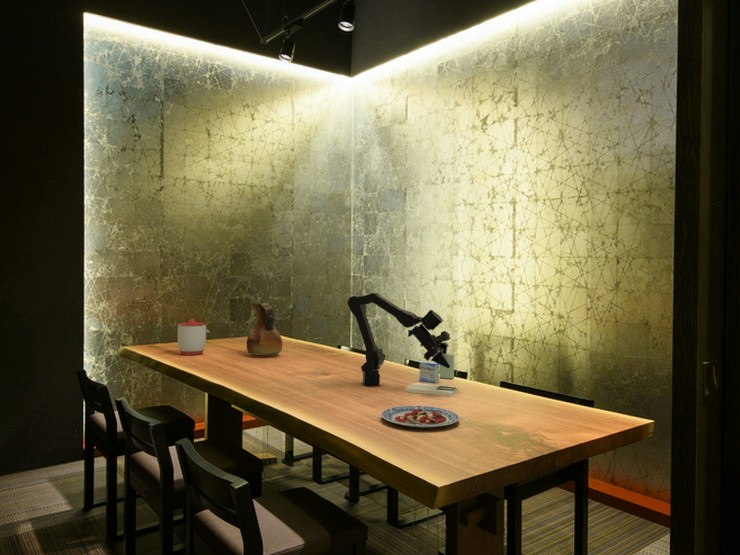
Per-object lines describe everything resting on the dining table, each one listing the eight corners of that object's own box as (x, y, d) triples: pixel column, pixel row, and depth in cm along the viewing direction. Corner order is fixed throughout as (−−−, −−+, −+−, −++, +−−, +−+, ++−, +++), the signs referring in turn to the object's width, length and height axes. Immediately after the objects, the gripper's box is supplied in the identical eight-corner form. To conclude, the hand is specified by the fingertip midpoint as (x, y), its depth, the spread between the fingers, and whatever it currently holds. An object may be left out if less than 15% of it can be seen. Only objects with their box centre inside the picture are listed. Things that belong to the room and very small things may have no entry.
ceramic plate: (411, 408, 209) (411, 399, 209) (473, 421, 193) (473, 412, 193) (364, 421, 190) (365, 412, 190) (430, 437, 173) (430, 428, 173)
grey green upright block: (439, 378, 235) (440, 354, 234) (441, 377, 238) (442, 353, 238) (451, 380, 233) (452, 355, 232) (454, 378, 236) (454, 354, 236)
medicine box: (418, 381, 258) (419, 362, 258) (422, 379, 262) (423, 360, 262) (435, 383, 254) (435, 363, 254) (439, 381, 258) (439, 362, 258)
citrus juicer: (212, 355, 321) (213, 319, 320) (180, 357, 312) (180, 320, 312) (205, 351, 334) (205, 316, 334) (174, 352, 326) (174, 317, 325)
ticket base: (405, 391, 236) (405, 386, 236) (414, 386, 247) (414, 381, 247) (451, 396, 228) (451, 391, 228) (458, 390, 240) (458, 385, 240)
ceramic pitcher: (270, 352, 336) (271, 300, 335) (289, 356, 320) (290, 302, 320) (240, 354, 323) (240, 301, 323) (257, 359, 308) (258, 303, 307)
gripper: (432, 326, 228) (459, 357, 224) (444, 323, 245) (469, 351, 241) (412, 345, 231) (438, 375, 227) (426, 340, 248) (450, 368, 244)
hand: (450, 366), depth 235 cm, fingers closed on grey green upright block, 3 cm apart
